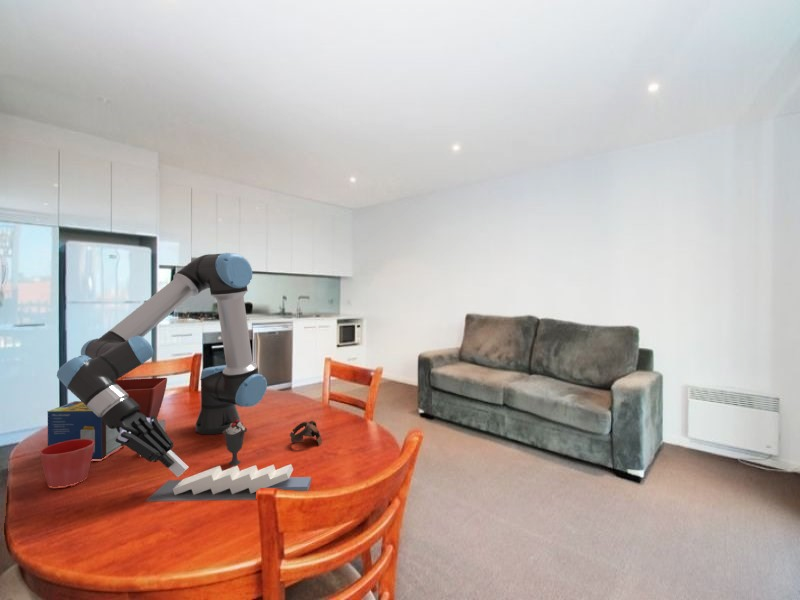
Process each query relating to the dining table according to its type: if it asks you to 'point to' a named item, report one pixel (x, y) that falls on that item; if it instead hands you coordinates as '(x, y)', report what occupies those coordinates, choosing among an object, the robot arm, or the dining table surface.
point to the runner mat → (168, 495)
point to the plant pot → (145, 393)
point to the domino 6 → (294, 484)
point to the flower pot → (67, 461)
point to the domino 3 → (237, 479)
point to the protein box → (81, 428)
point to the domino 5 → (274, 478)
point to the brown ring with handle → (305, 432)
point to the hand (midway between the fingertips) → (183, 472)
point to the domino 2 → (218, 480)
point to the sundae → (234, 439)
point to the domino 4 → (255, 479)
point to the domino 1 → (197, 480)
